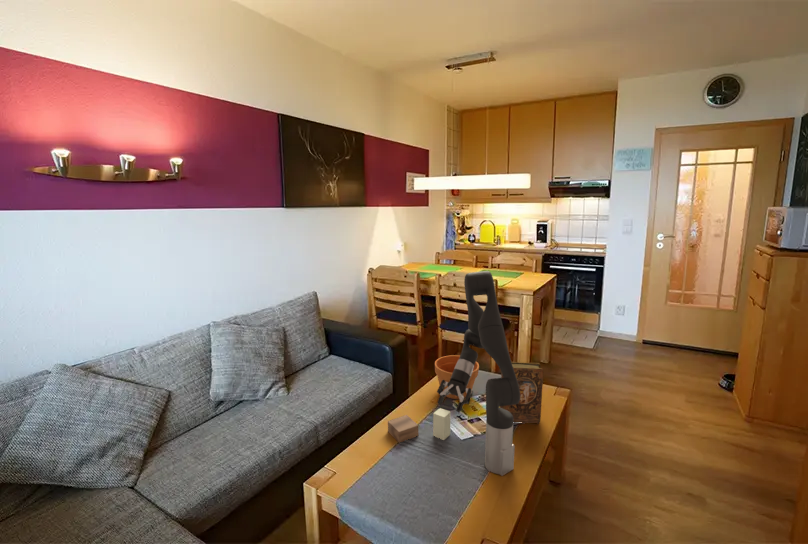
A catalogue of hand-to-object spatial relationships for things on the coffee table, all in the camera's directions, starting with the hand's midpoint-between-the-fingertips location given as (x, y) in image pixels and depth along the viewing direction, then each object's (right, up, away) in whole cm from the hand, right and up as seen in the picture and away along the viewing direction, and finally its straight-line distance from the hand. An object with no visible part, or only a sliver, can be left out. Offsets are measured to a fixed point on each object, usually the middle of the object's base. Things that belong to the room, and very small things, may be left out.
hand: (448, 408), depth 167 cm
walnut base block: (-18, -10, -1) cm, 21 cm away
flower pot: (+7, -3, +33) cm, 34 cm away
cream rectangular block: (-3, -10, -2) cm, 11 cm away
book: (+31, -8, +9) cm, 33 cm away
